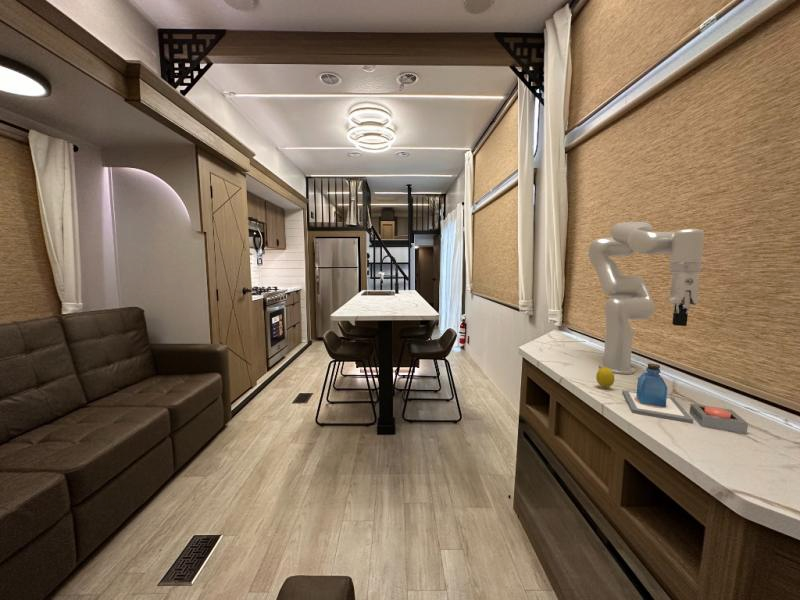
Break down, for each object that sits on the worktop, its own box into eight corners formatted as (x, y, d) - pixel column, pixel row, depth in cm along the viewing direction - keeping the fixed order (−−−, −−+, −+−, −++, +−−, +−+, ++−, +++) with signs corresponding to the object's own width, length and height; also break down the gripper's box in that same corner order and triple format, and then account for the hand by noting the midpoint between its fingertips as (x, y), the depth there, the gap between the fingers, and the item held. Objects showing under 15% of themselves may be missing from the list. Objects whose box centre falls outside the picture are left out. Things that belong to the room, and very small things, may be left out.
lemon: (616, 391, 110) (618, 369, 110) (599, 390, 112) (600, 368, 111) (609, 385, 116) (611, 364, 115) (593, 384, 117) (594, 364, 116)
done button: (700, 413, 92) (701, 404, 91) (724, 417, 89) (725, 408, 89) (708, 421, 87) (709, 412, 87) (733, 425, 85) (734, 416, 84)
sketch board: (622, 392, 109) (622, 389, 109) (673, 400, 103) (674, 397, 103) (632, 412, 94) (632, 408, 94) (693, 423, 88) (693, 419, 88)
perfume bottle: (640, 403, 98) (643, 366, 97) (636, 396, 103) (639, 361, 102) (665, 407, 95) (669, 369, 94) (660, 400, 100) (663, 363, 99)
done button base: (689, 412, 94) (690, 403, 94) (730, 419, 90) (731, 409, 90) (701, 426, 86) (702, 415, 86) (746, 434, 82) (748, 423, 82)
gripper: (710, 268, 91) (703, 330, 93) (691, 268, 105) (686, 322, 107) (677, 268, 95) (671, 328, 97) (663, 268, 108) (658, 321, 110)
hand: (679, 325), depth 102 cm, fingers closed
